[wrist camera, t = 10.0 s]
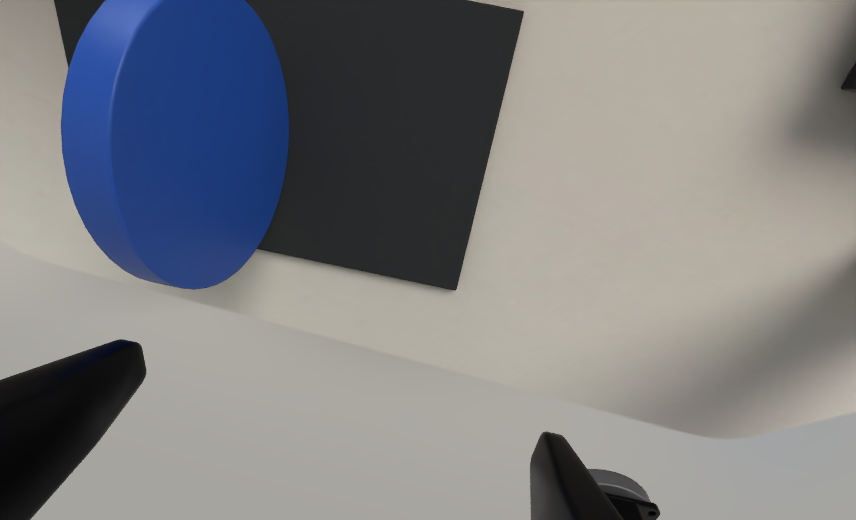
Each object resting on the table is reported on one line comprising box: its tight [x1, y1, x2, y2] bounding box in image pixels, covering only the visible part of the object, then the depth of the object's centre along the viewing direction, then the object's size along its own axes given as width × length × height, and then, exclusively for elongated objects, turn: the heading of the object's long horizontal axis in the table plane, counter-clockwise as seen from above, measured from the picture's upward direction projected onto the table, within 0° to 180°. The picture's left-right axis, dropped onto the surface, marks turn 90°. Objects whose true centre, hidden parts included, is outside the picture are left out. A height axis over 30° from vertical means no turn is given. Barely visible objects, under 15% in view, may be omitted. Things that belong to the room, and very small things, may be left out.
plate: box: [61, 0, 289, 289], centre depth 14 cm, size 1×10×10 cm, turn 170°
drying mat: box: [54, 0, 524, 290], centre depth 19 cm, size 13×20×1 cm, turn 80°
